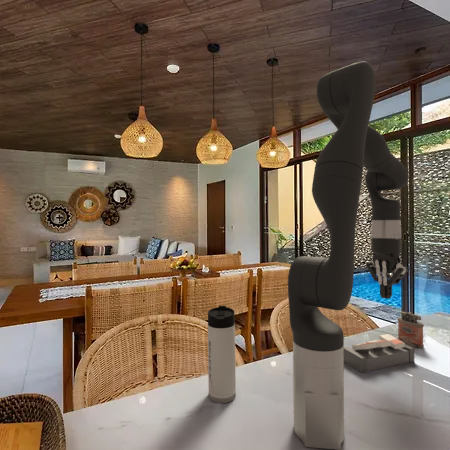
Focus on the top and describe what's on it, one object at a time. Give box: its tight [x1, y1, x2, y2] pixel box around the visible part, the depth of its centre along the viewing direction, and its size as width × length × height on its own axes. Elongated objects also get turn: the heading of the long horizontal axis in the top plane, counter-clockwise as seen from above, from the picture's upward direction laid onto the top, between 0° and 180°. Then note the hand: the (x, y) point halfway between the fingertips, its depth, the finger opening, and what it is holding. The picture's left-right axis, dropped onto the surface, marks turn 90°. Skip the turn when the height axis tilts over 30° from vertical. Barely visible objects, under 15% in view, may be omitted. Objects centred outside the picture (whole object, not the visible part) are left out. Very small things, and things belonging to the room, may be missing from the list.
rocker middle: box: [365, 339, 391, 347], centre depth 87 cm, size 3×6×1 cm, turn 19°
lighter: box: [397, 311, 425, 350], centre depth 99 cm, size 8×3×10 cm, turn 25°
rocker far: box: [378, 333, 406, 349], centre depth 89 cm, size 3×6×1 cm, turn 19°
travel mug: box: [207, 305, 237, 404], centre depth 71 cm, size 6×7×20 cm
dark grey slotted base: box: [344, 344, 415, 373], centre depth 87 cm, size 18×7×4 cm, turn 109°
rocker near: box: [351, 342, 377, 350], centre depth 86 cm, size 3×6×1 cm, turn 19°
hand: (385, 298), depth 87 cm, fingers closed
